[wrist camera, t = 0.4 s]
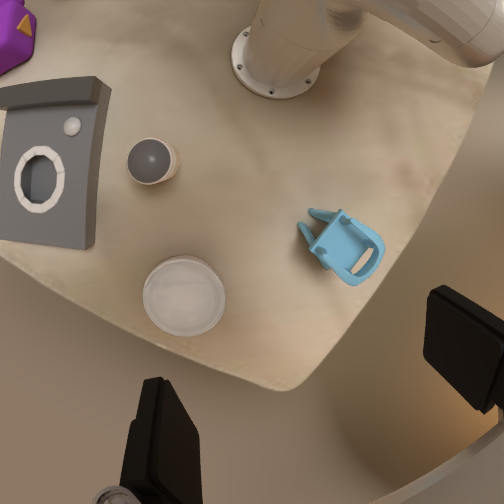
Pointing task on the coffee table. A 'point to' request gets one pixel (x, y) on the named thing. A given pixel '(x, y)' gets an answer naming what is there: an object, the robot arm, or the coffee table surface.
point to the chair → (344, 245)
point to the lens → (152, 161)
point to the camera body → (52, 160)
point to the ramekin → (184, 296)
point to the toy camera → (15, 33)
